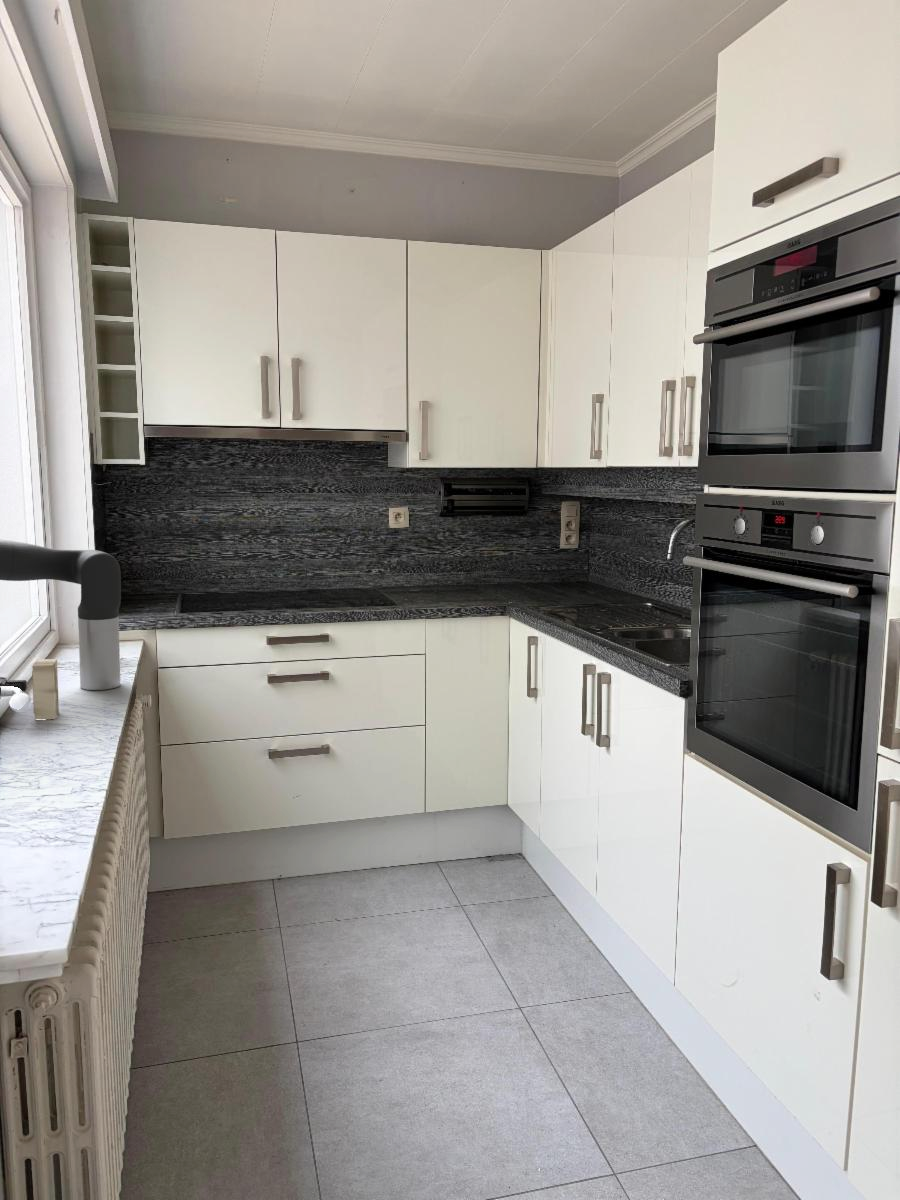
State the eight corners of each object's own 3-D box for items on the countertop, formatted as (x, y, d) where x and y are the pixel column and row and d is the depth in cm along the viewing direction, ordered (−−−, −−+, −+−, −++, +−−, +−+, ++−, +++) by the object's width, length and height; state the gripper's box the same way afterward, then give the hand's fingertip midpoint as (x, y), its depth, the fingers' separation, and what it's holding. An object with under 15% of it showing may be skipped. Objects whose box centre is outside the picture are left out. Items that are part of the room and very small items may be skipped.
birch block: (38, 713, 201) (36, 659, 199) (58, 712, 202) (56, 658, 200) (33, 720, 195) (31, 665, 193) (55, 719, 196) (52, 664, 194)
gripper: (-74, 678, 185) (20, 675, 190) (-57, 664, 198) (30, 661, 202) (-72, 715, 186) (21, 710, 191) (-55, 698, 199) (32, 694, 203)
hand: (26, 685), depth 197 cm, fingers closed
